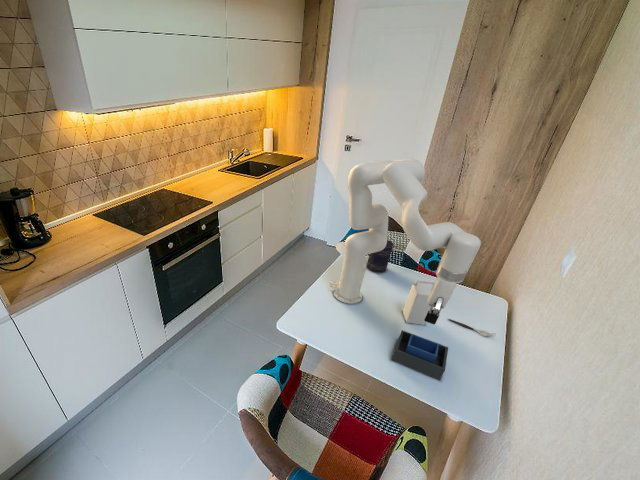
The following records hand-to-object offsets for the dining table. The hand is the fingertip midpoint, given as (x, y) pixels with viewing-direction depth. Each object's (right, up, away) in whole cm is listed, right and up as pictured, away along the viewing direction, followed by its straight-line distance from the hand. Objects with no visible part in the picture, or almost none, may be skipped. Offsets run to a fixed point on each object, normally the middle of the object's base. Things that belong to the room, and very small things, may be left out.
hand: (431, 314), depth 107 cm
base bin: (0, -18, +9) cm, 20 cm away
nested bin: (0, -17, +8) cm, 19 cm away
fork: (+29, -10, +22) cm, 38 cm away
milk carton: (+9, -6, +27) cm, 29 cm away
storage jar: (+7, +15, +61) cm, 63 cm away
